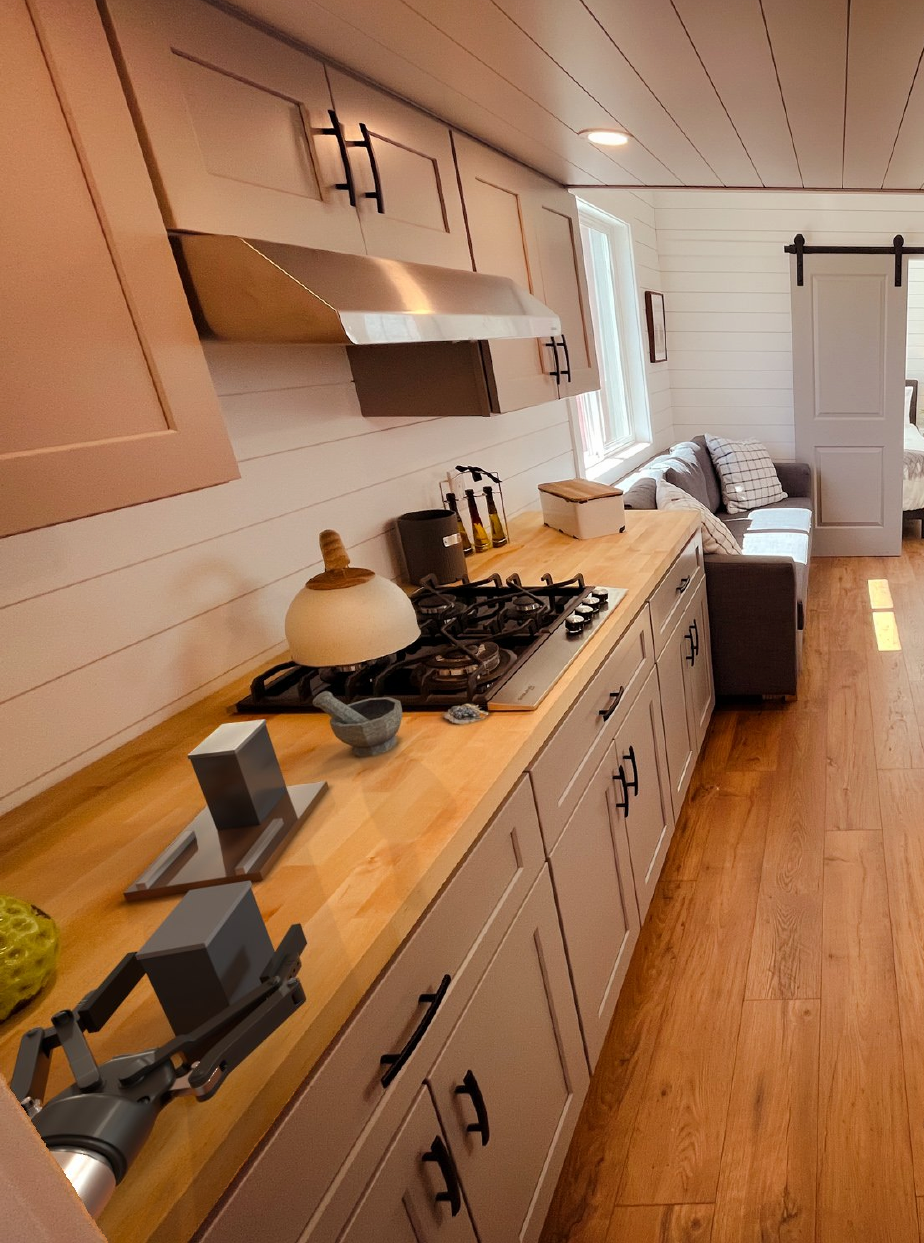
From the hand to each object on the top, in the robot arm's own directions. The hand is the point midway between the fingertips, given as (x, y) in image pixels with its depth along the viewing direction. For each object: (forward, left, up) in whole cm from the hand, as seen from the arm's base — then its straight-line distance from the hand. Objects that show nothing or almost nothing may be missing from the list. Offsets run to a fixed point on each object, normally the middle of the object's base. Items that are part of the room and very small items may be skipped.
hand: (220, 947), depth 69 cm
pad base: (-13, +29, -7) cm, 32 cm away
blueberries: (+9, +58, -7) cm, 59 cm away
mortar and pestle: (-4, +50, -7) cm, 51 cm away
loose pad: (0, -1, -7) cm, 7 cm away
